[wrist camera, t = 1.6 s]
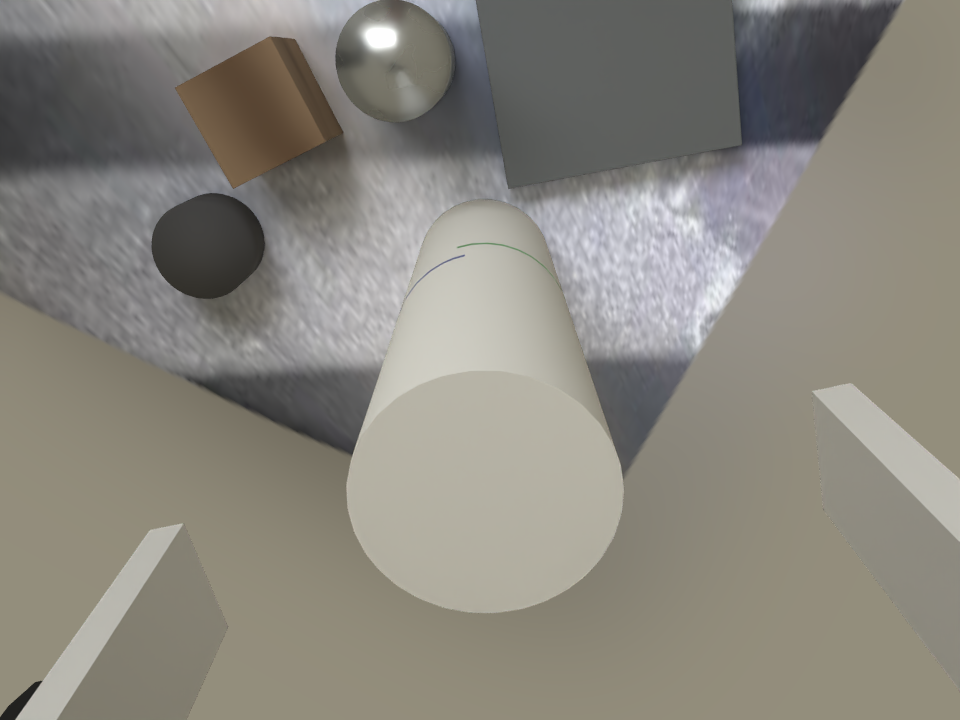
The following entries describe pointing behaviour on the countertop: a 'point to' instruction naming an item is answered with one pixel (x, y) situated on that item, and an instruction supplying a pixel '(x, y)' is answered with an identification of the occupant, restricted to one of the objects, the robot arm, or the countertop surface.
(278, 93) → the walnut block
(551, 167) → the plate
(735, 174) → the countertop surface
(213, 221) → the black rubber puck
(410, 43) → the grey metal tin
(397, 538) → the cylindrical container
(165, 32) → the countertop surface
